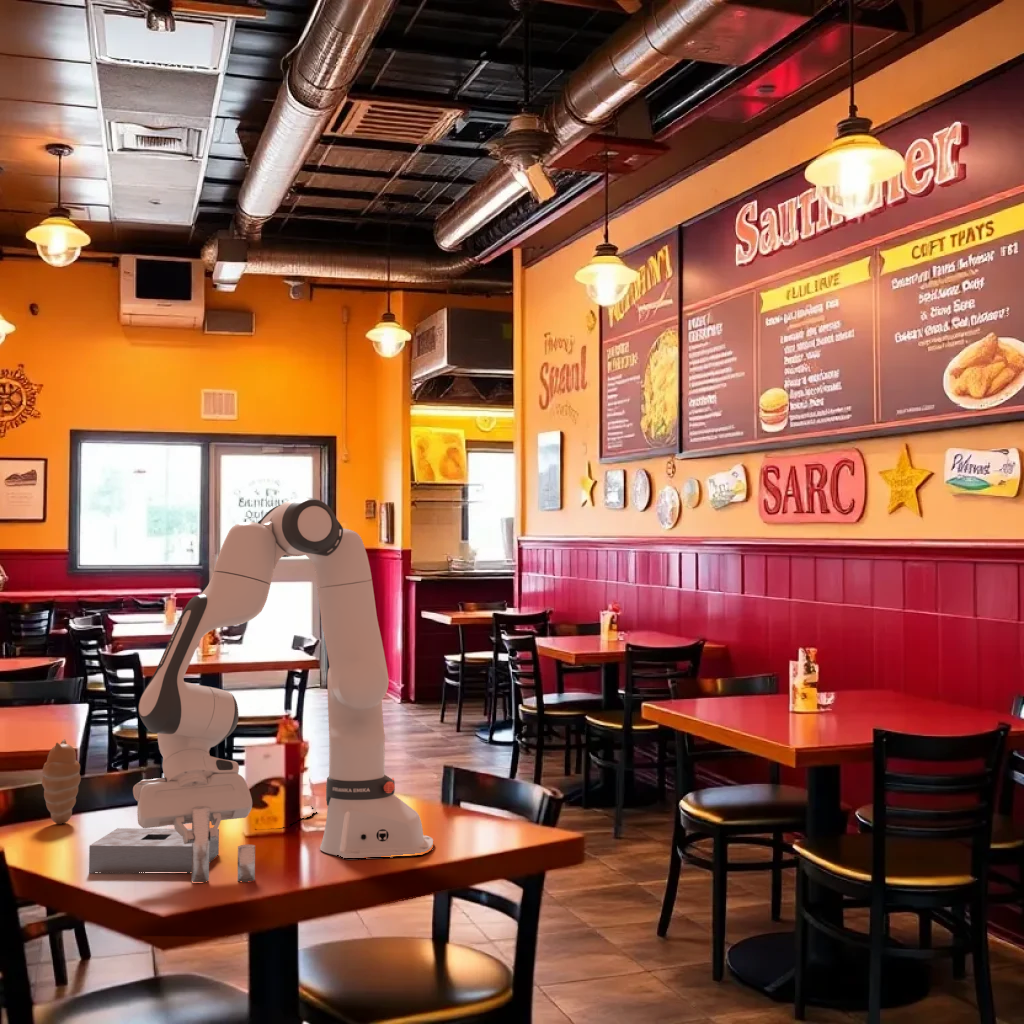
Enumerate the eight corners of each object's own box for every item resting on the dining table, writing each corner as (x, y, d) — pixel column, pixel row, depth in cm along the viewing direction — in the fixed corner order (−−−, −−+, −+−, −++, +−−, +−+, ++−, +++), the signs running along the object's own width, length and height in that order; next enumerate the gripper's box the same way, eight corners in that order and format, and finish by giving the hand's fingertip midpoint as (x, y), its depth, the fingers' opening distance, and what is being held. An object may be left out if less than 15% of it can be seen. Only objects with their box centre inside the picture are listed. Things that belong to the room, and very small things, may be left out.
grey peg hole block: (218, 854, 226) (218, 828, 226) (197, 873, 212) (197, 846, 212) (116, 854, 226) (117, 828, 227) (88, 873, 212) (89, 845, 213)
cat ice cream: (49, 819, 257) (50, 738, 258) (85, 819, 258) (86, 737, 258) (34, 828, 248) (36, 744, 249) (72, 828, 249) (73, 743, 250)
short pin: (256, 878, 209) (256, 844, 209) (252, 882, 206) (252, 848, 206) (240, 878, 209) (240, 844, 209) (235, 882, 206) (235, 848, 206)
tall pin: (210, 879, 208) (211, 806, 209) (206, 883, 205) (206, 809, 206) (194, 879, 208) (195, 806, 209) (189, 883, 205) (190, 809, 206)
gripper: (134, 770, 209) (144, 836, 200) (246, 761, 219) (260, 824, 210) (129, 791, 213) (138, 857, 204) (239, 781, 222) (253, 843, 213)
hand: (201, 840), depth 207 cm, fingers closed on tall pin, 3 cm apart
